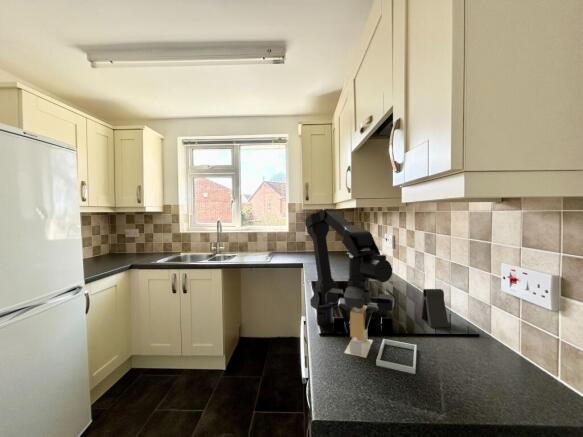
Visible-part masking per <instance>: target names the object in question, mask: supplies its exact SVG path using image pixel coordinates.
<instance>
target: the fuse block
mask: <svg viewBox="0 0 583 437" xmlns="http://www.w3.org/2000/svg"><path fill="white" fill-rule="evenodd" d="M373 340H374V339H368V331H367V332H366V334H365V336H364V338H363V339H360V338H355V337H351V339H350V341H349V343H348V345H347V347H346V349H345V350H344V351H343V353H344V354H348V355H352V356H357V357H361V358H365V359H366V358H367V356H368V354H369V351H370V349H371V346H372V344H373Z"/></svg>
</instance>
